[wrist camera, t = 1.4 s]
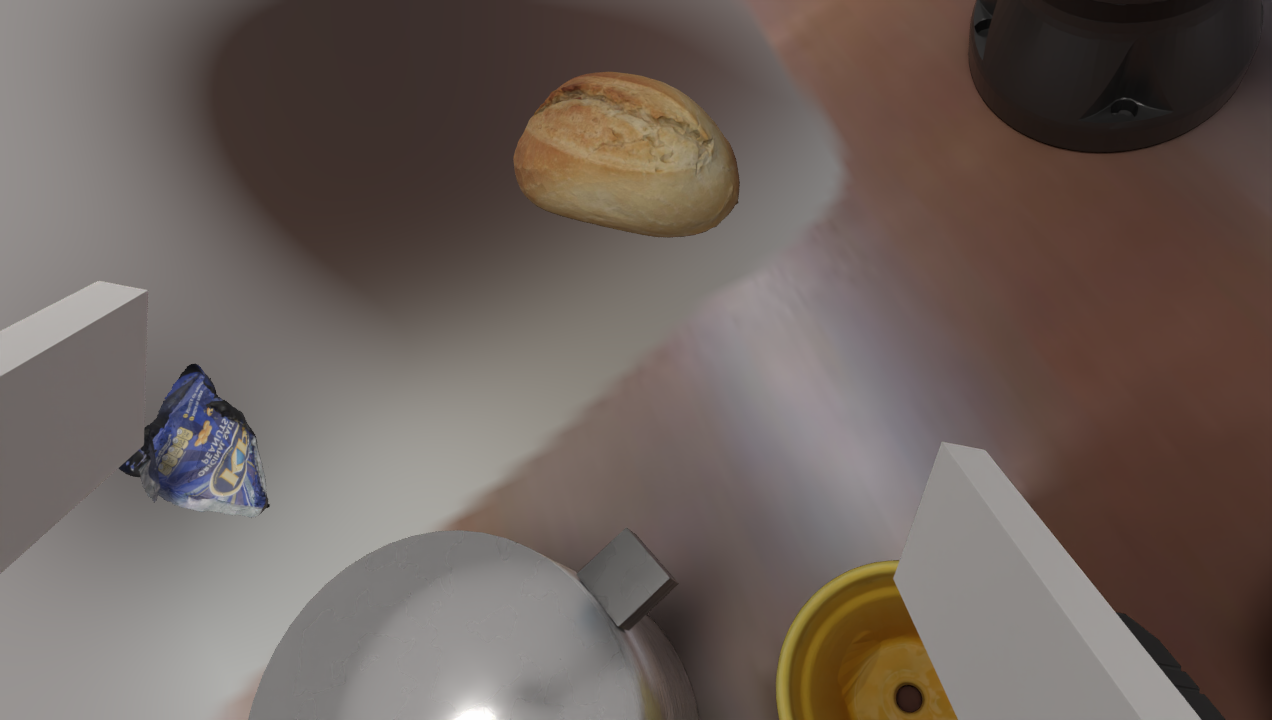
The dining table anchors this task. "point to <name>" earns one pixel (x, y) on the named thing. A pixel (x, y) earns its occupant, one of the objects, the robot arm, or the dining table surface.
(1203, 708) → the robot arm
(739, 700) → the dining table surface
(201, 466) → the snack package
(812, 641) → the plant pot
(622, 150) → the bread roll
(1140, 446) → the dining table surface
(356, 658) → the pressure cooker
